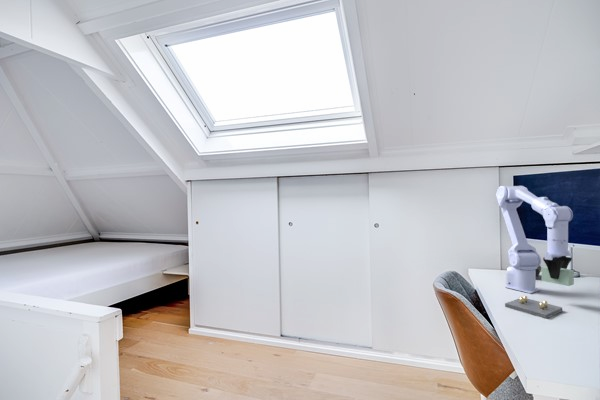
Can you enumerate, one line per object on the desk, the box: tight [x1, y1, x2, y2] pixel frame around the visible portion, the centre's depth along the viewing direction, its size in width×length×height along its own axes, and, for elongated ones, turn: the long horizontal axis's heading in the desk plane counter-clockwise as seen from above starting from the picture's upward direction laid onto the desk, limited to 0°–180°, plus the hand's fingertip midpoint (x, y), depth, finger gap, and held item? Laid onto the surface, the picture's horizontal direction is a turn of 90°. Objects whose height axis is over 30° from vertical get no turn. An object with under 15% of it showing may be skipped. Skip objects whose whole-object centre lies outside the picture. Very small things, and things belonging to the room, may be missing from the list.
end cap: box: [535, 265, 542, 278], centre depth 146 cm, size 10×7×7 cm
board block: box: [541, 265, 575, 287], centre depth 110 cm, size 8×4×5 cm, turn 30°
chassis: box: [504, 295, 563, 319], centre depth 106 cm, size 12×12×3 cm
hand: (557, 277), depth 111 cm, fingers closed on board block, 4 cm apart
